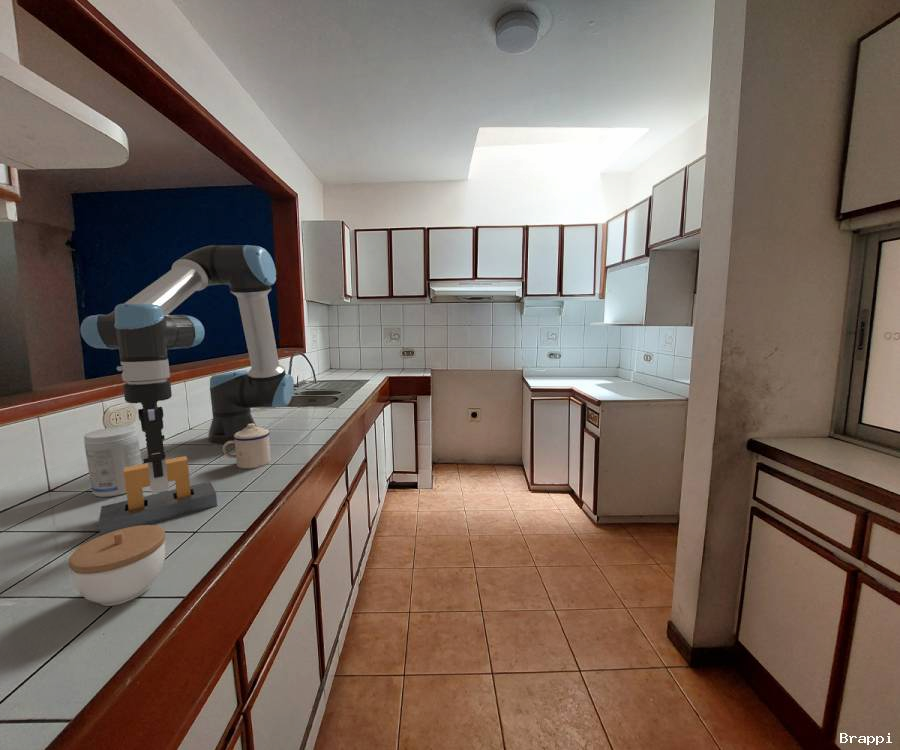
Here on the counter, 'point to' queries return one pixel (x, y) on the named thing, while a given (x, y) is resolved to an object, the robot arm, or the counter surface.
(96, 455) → the supplement tub
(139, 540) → the lidded jar
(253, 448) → the teacup with lid
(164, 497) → the graphite rail
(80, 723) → the counter surface
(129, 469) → the orange clip
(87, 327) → the robot arm
